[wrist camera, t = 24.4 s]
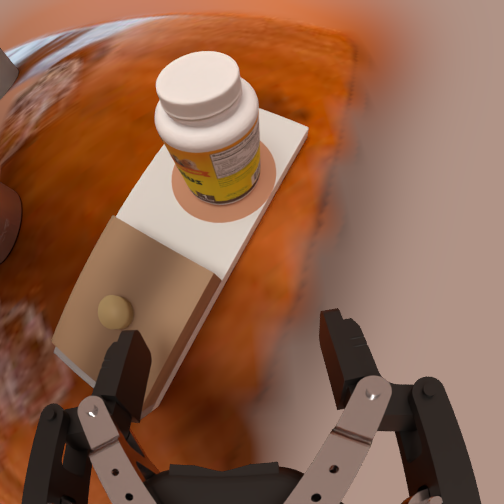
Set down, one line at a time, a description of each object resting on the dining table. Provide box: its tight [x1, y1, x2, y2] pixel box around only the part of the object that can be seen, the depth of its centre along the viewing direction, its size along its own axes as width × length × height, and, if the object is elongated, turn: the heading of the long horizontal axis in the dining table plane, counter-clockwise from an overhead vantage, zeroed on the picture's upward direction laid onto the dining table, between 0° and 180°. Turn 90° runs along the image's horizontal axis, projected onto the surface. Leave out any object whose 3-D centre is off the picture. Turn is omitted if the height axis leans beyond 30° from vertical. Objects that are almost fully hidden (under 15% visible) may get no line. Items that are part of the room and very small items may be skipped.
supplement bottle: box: [155, 51, 260, 205], centre depth 16 cm, size 6×6×10 cm
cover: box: [51, 215, 222, 411], centre depth 17 cm, size 8×10×4 cm
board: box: [54, 108, 309, 420], centre depth 20 cm, size 10×25×4 cm, turn 152°
